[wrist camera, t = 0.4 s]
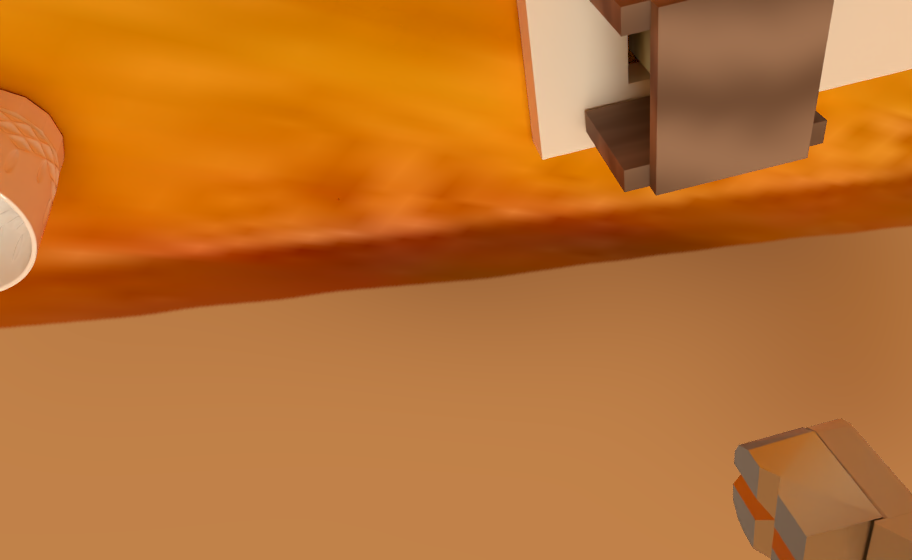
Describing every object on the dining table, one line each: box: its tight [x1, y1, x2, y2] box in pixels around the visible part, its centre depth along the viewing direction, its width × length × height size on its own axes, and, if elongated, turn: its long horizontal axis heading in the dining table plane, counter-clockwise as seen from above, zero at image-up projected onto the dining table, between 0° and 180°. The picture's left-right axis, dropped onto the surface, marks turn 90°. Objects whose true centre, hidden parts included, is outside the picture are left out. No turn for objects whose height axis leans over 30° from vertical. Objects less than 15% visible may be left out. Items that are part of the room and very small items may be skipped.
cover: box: [585, 0, 834, 195], centre depth 42 cm, size 11×12×8 cm
